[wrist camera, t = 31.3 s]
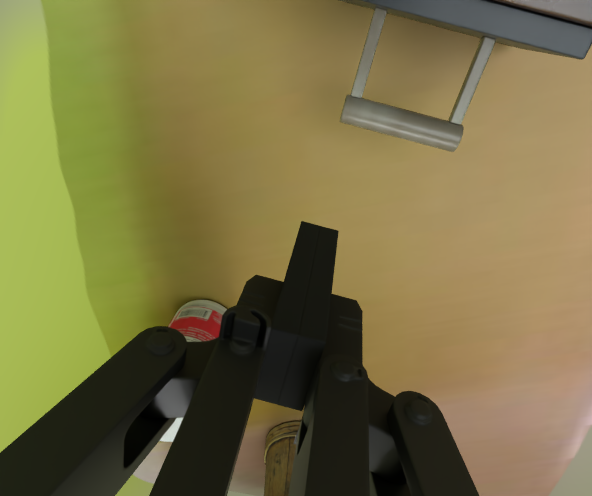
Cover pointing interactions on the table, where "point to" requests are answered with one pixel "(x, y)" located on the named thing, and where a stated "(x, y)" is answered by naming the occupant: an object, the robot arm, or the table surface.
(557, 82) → the table surface
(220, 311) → the pill bottle
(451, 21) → the drawer
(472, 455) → the table surface
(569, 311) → the table surface
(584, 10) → the cabinet
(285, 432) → the wooden mug
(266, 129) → the table surface
